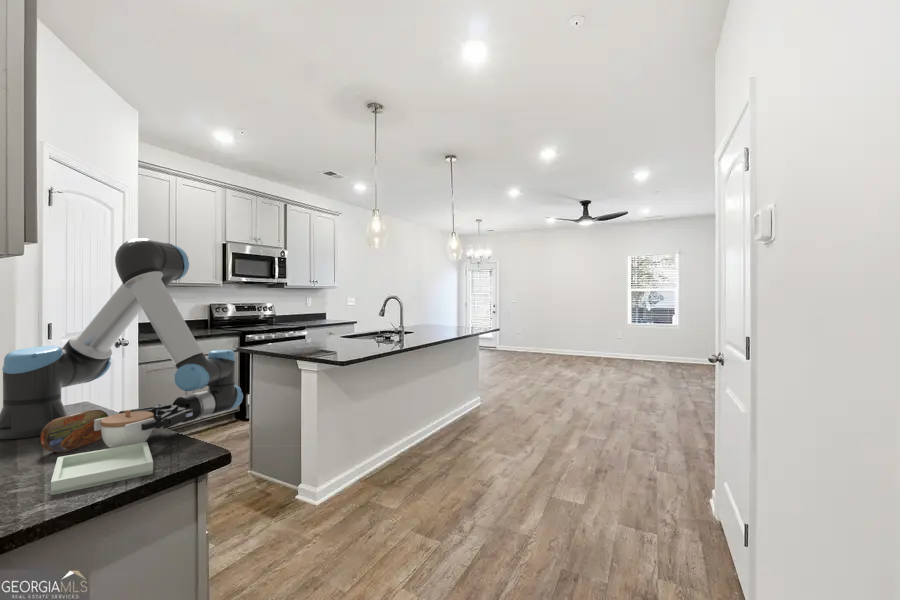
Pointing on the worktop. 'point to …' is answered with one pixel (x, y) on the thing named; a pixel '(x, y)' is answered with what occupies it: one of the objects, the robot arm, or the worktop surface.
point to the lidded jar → (123, 428)
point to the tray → (101, 467)
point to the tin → (71, 431)
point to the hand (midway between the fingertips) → (110, 428)
